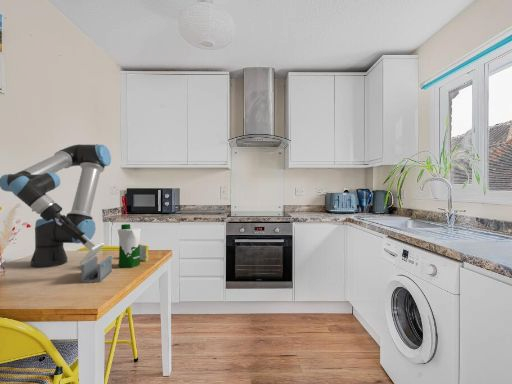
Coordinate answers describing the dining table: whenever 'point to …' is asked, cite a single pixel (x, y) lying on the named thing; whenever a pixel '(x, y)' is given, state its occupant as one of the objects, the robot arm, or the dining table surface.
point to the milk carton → (129, 246)
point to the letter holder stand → (95, 270)
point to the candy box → (144, 252)
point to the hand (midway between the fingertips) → (92, 247)
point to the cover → (92, 252)
